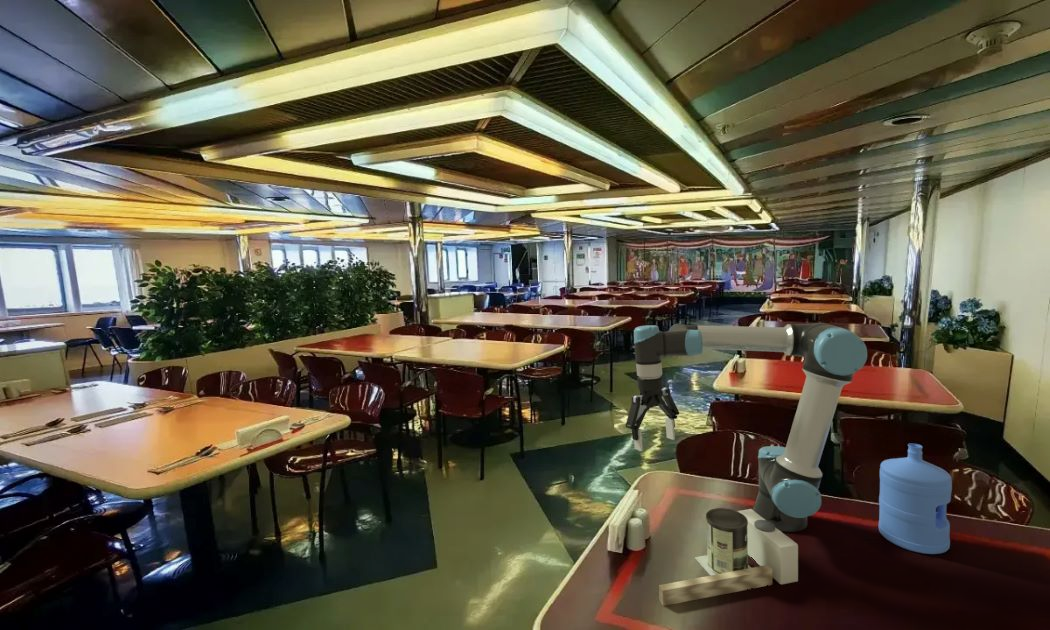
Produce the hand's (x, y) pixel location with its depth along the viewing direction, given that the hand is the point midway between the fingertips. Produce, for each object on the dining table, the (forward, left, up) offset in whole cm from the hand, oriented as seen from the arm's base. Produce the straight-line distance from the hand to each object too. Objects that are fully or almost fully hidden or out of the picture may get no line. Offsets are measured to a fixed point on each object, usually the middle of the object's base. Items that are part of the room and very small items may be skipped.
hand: (655, 444), depth 139 cm
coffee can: (-10, +21, -28) cm, 36 cm away
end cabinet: (-14, +21, -28) cm, 38 cm away
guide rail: (-2, +29, -28) cm, 40 cm away
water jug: (-68, +23, -28) cm, 77 cm away
